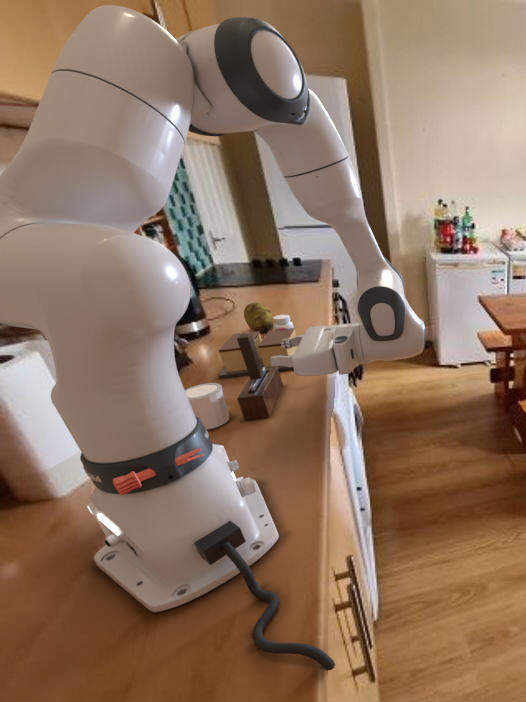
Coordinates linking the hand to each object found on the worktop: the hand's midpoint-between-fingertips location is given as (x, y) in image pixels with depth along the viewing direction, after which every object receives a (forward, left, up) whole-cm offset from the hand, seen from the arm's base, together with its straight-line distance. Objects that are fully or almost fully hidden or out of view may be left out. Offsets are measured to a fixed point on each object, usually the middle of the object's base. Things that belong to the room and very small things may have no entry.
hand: (276, 352), depth 84 cm
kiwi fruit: (+53, -16, -11) cm, 56 cm away
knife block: (+3, +4, -11) cm, 12 cm away
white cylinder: (+3, +14, -11) cm, 18 cm away
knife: (+3, +4, -11) cm, 12 cm away
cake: (+25, -6, -11) cm, 28 cm away
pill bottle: (+33, -15, -11) cm, 38 cm away
